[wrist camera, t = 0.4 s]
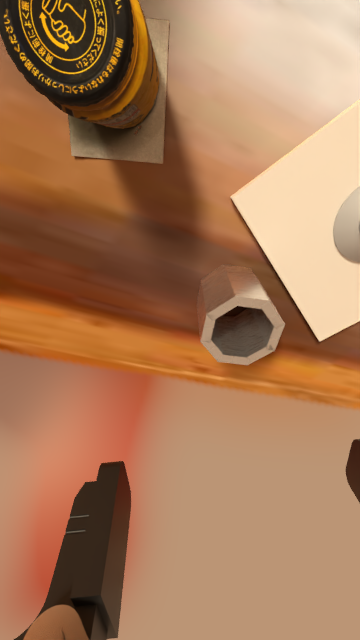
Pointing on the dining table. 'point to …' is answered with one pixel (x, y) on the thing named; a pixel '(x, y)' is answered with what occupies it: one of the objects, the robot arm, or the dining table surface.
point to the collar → (237, 316)
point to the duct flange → (313, 222)
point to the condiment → (95, 70)
